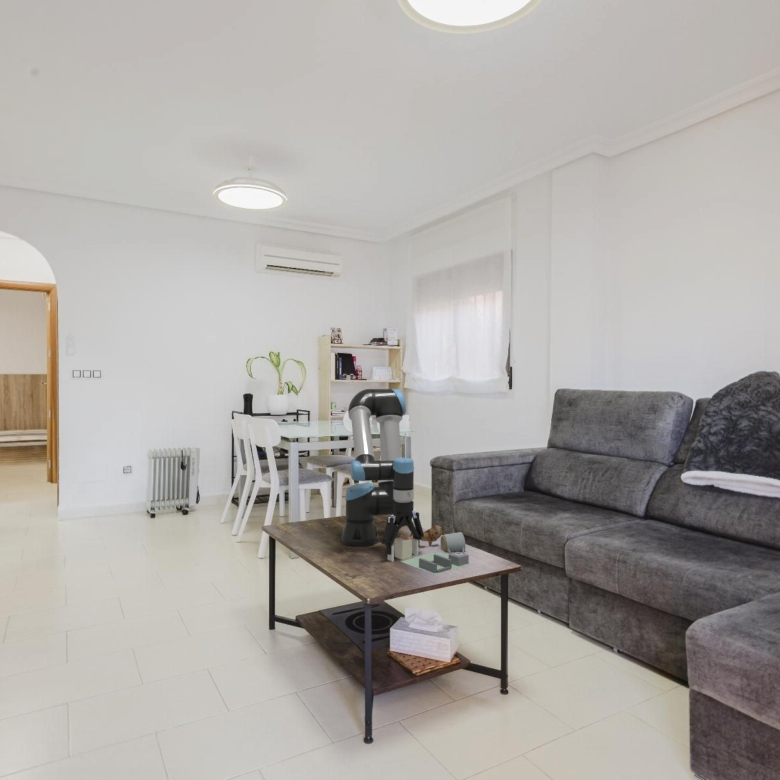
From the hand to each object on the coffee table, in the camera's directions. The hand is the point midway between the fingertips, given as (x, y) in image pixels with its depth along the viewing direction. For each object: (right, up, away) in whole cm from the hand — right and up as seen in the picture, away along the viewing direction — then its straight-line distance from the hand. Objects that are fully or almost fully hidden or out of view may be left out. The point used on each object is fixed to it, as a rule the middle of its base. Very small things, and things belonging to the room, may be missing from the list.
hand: (403, 559), depth 205 cm
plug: (0, 0, 0) cm, 0 cm away
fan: (+20, +1, -7) cm, 21 cm away
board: (+11, 0, -6) cm, 13 cm away
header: (+11, +1, -12) cm, 16 cm away
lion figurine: (+9, 0, +17) cm, 19 cm away
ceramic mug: (+20, 0, +8) cm, 21 cm away
